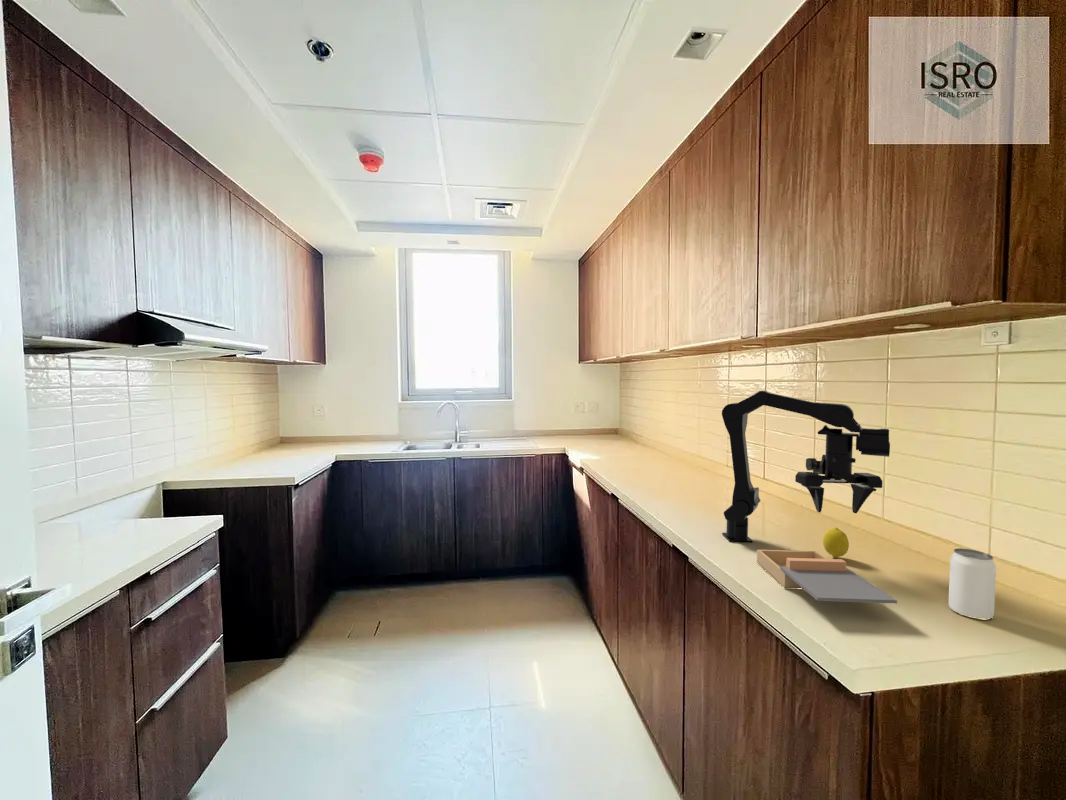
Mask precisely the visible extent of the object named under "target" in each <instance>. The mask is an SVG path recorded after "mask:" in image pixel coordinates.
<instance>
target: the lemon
mask: <svg viewBox="0 0 1066 800" xmlns="http://www.w3.org/2000/svg"><path fill="white" fill-rule="evenodd" d="M822 544H823V547H824V550H825V551H826V552H827V554H829V555H831V556H832V557H833V558H834V557H835V558H834V559H839V557H842V556H845V555H846V554H847V553H848V552H849V547H850V543H849V539H848V536H847V534H846V533H845V532H844V531H843V530H841V529H839V528H838V527H834V528H830V529H828V530H826V532H825V533H824V535H823V540H822Z"/></svg>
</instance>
